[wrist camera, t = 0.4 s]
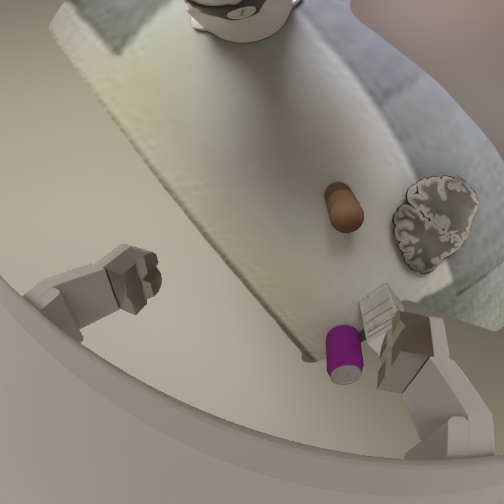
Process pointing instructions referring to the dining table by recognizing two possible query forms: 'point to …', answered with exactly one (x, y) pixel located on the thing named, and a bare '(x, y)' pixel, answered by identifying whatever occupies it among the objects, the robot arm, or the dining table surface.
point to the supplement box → (379, 315)
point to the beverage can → (344, 355)
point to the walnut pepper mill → (343, 208)
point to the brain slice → (434, 221)
